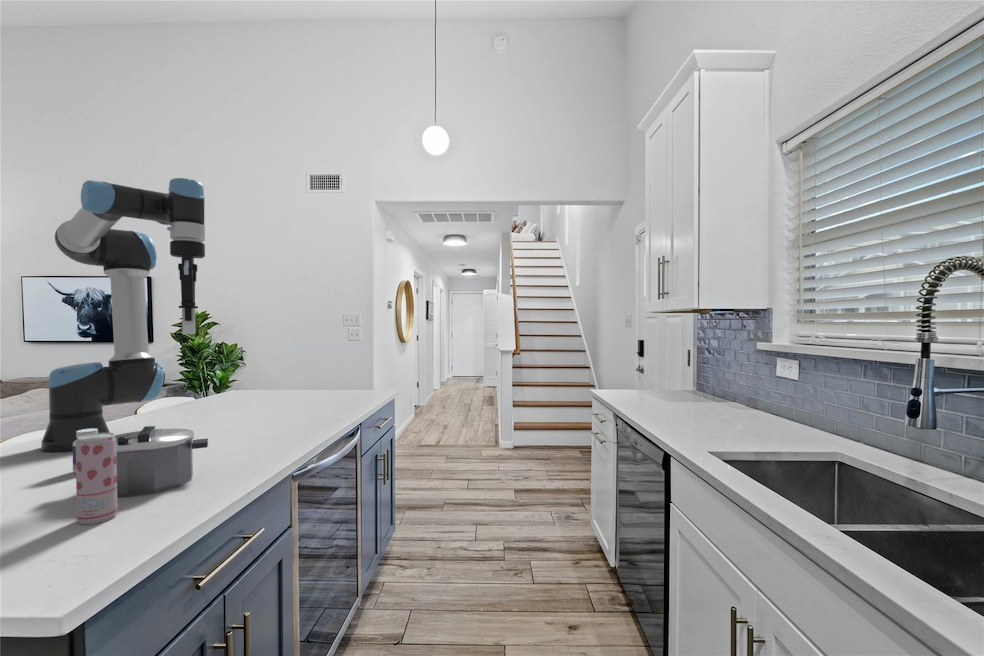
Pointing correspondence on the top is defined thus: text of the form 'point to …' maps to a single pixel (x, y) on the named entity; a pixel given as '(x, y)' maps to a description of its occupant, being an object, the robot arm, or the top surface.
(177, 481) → the pot
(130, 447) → the lid
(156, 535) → the top surface
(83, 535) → the top surface
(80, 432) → the pill bottle
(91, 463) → the beverage can
